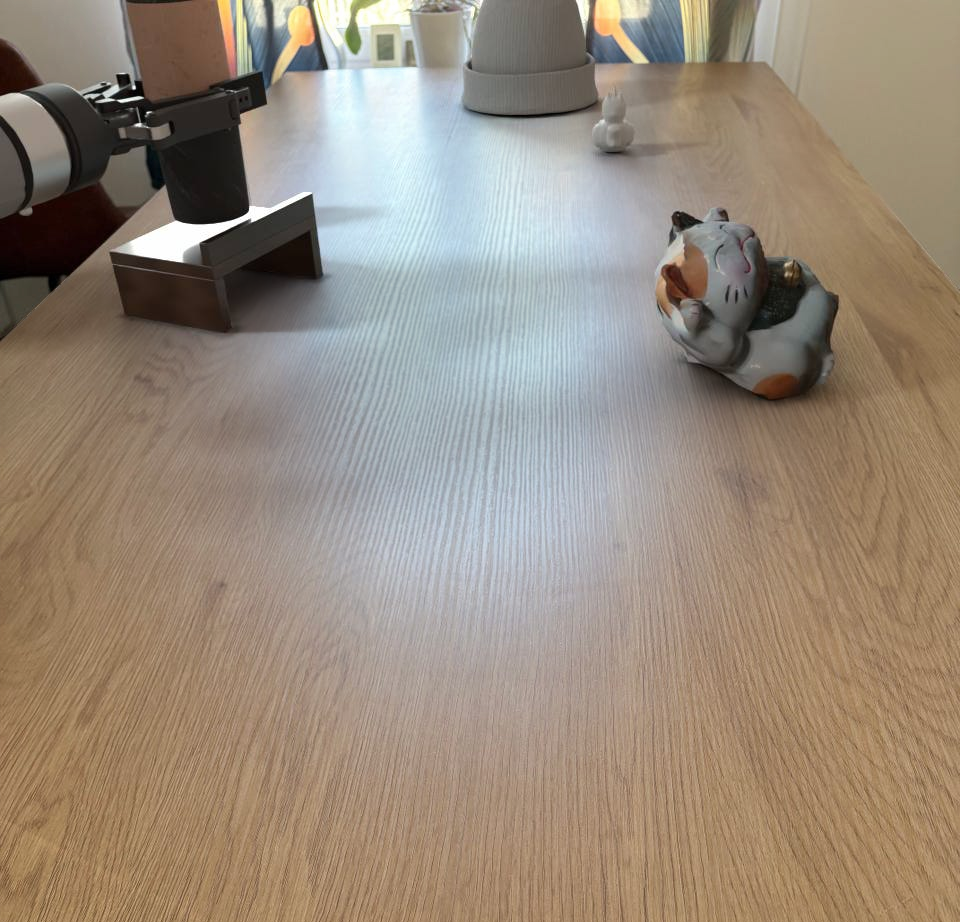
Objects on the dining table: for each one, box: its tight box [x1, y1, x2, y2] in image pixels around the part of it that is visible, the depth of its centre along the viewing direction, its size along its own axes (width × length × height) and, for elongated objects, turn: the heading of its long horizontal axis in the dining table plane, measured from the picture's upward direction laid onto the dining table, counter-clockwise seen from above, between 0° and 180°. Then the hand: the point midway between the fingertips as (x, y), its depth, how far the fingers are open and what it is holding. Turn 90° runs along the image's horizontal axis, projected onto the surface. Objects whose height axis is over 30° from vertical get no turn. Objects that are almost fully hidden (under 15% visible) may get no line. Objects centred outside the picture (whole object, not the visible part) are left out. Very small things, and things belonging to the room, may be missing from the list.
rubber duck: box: [591, 83, 635, 153], centre depth 139 cm, size 5×7×8 cm
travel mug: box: [125, 0, 250, 225], centre depth 94 cm, size 8×8×20 cm
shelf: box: [108, 191, 324, 334], centre depth 103 cm, size 12×16×8 cm
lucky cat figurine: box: [653, 206, 840, 401], centre depth 84 cm, size 15×12×14 cm
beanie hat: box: [460, 0, 599, 116], centre depth 163 cm, size 21×21×20 cm
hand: (224, 85), depth 98 cm, fingers closed on travel mug, 8 cm apart
